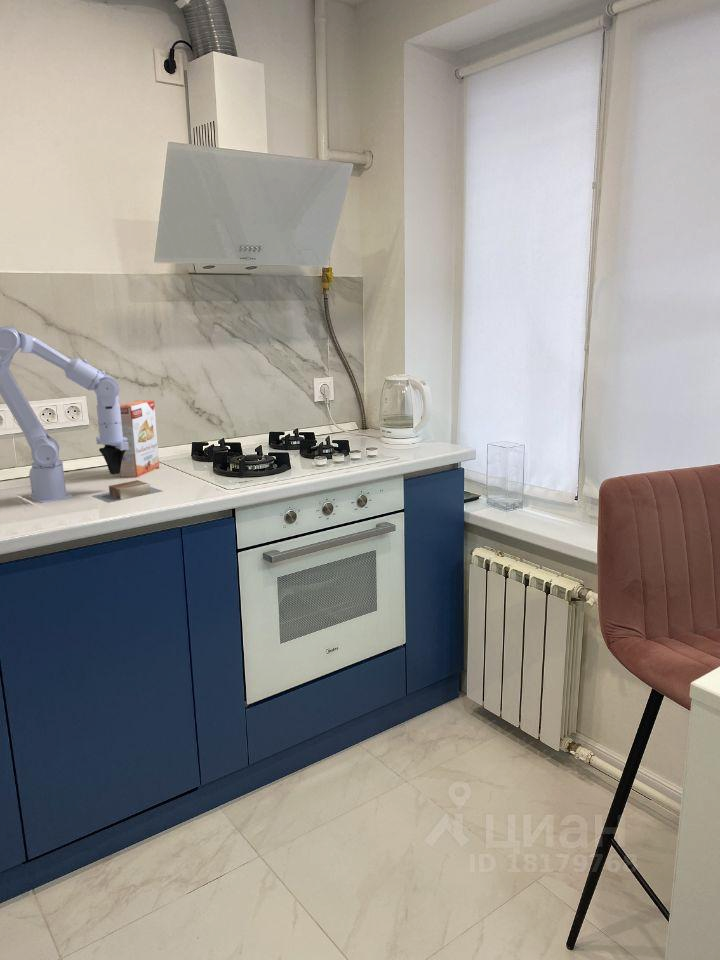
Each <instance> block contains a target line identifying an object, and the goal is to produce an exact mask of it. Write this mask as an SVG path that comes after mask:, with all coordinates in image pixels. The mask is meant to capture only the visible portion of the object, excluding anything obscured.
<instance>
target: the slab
mask: <svg viewBox="0 0 720 960" xmlns="http://www.w3.org/2000/svg"><path fill="white" fill-rule="evenodd" d="M150 485H151V484H150V483H147V482H146V481H145V482H144V481H141V480H137V479H136V480H132V481H127V482H121V483H117V484H112V485H108V490H109V492H110V495H111V496H113V497H116V498H119V499H124V500H127V499H126V498H129V499H132V498H131V497H134V498H136V497H135V496H138V497H141V496H140V495H143V496H146V495H145V494H148V495H151V494H150V487H151V486H150ZM109 492H108V493H109Z"/></svg>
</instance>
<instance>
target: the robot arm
mask: <svg viewBox="0 0 720 960" xmlns="http://www.w3.org/2000/svg"><path fill="white" fill-rule="evenodd" d="M19 349H20V350H19ZM18 350H19V351H20V353H22V354H33V355H36V356H38V357H40V358H42V359H43V360H45V361H47V362H49V363H51V364H52V365H55V366H56V367H58V368H60V369H61V370H63V371H64V374H65V378H66V379H68V380H70V381H72V382H74V383H75V384H77V385H79V386H80V387H82V388H84V389H86V390H88V391H89V392H90V391H94V394H96V403H97V404H96V412H97V413H96V414H97V423H98V432H99V433H98V435H99V436H96V437H95V439H96V440H95V442H96V444H97V445H103V447H100V448H99V449H98V451H99V452H100V453H101V455H102V457H103V458H104V461H105V463H106V465H107V468H108V471H109V474H110V475H112V476H113V475H118V474H119V475H120V469H121V463H122V458H123V455H124V453H125V451H126V450H128V449H129V448H128V442H126V440H127V438H126V437H123V433H122V423H121V412H120V405H121V404H120V403H119V402H120V399H119V398H120V397H119V396H118V395H119V393H120V387H119V384H118V382H117V381H116V380H115V379H114V378H113V377H112V376H111V375H108V374H106V372H105V371H104V370H99V369H97V368H96V367H94V366H92V365H91V364H89V360H87V359H85V358H83V359H81V358H79V357H77V358H73V359H70V358H68V356H66V355H64V354H62V353H61V352H59V351H57V349H54V348H52V347H51V346H49V345H48V344H46V343H45V342H43V341H42V340H40V339H38V338H36V337H35V336H32V335H30V334H28V333H25V332H23V331H19V330H18V329H17V328H15V327H13V326H8V325H7V326H0V396H1V398H2V399H3V401H4V403H5V404H6V406H7V408H8V410H9V411H10V413H11V415H12V417H13V418H14V419H15V421H16V423H17V424H18V426H19V428H20V430H21V431H22V433H23V434H24V437H25V439H26V442H27V444H28V446H29V447H30V452H31V453H30V454H31V459H32V461H33V462H32V463H31V468H30V470H29V472H28V473H29V474H28V475H29V482H30V490H31V494H30V495H28V497H27V498H30V499H32V500H34V501H36V502H37V503H40V504H44V503H50V502H55V501H59V500H64V499H65V500H66V499H69V498H73V494H69V493H67V488H66V487H67V486H66V480H65V472H64V465H63V460H61V459H60V458H59V457H60V446H59V445H60V444H59V442H58V441H57V440H56V439H55V438H54V437H52V436H50V435H49V433H48V432H47V430H46V429H45V427H44V426H43V424H42V423H41V421H40V419H38V416H37V415H36V413H35V411H34V410H33V408H32V406H31V404H30V402H29V401H28V399H27V397H26V396H25V394H24V392H23V391H22V389H21V387H20V385H19V384H18V382H17V380H16V379H15V377H14V375H13V374H12V372H11V370H10V365H11V363H12V360H13V358H14V355H15V354H16V352H18Z"/></svg>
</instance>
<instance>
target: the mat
mask: <svg viewBox="0 0 720 960" xmlns="http://www.w3.org/2000/svg"><path fill="white" fill-rule="evenodd" d="M162 492H163V490H161V489H158V488H155V487H152V486H150V494H145V495H140V496H135V497H131V498H126V499H119V498H116V497H113V496H111V495H110V492H105V493H99V494H94V495H92V497H93V498H96V499H98V500H101V501H103V502H106V503H108V504H109V503H114V502H119V501H124V500H128V499H133V498H139V497H143V496H147V495H153V494H157V493H162Z"/></svg>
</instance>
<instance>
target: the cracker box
mask: <svg viewBox="0 0 720 960" xmlns="http://www.w3.org/2000/svg"><path fill="white" fill-rule="evenodd" d="M119 405H120V412H121V423H122V433H123V437H126V438H127V440H126V442H128V448H129V449H128V450H126V451H125V453H124V455H123V458H122V463H121V469H120V474H119V476H120V478H138V477H139V478H140V477H142V476H143V475H145V474H147V473H150V472H152V471H154V470H158V469H160V459H159V458H160V457H159V447H158V434H157V433H158V432H157V420H156V419H157V418H156V408H155V400H152V399H141V400H138V399H137V400H135V401H134V400H132V401H130V402H126V403H125V402H124V403H122V404H119Z"/></svg>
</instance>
